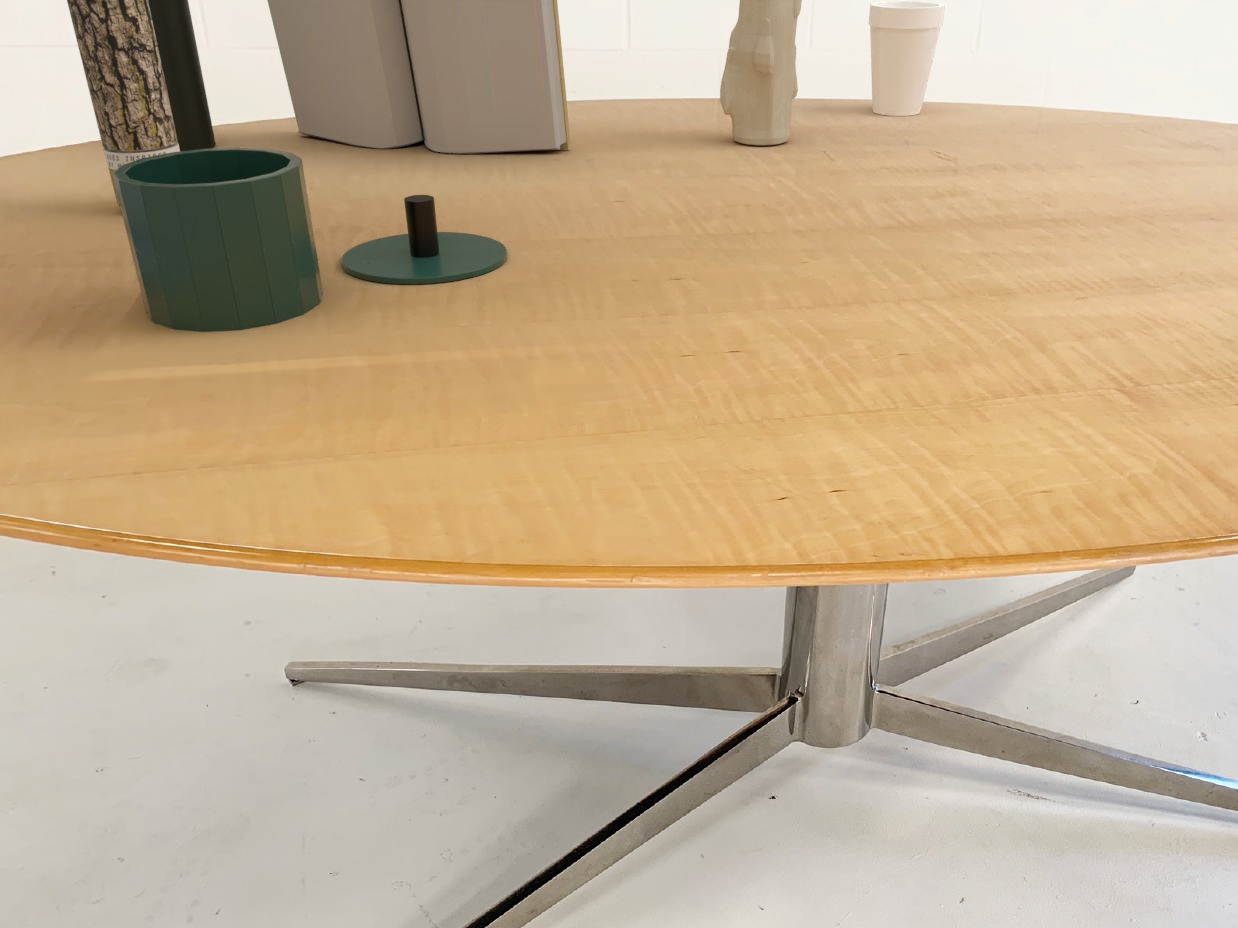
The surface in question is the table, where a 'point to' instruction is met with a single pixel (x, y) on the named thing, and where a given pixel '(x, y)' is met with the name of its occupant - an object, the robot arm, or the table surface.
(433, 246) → the lid
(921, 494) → the table surface
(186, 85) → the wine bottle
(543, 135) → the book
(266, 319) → the pot
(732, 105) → the vase
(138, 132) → the brown tall cylinder
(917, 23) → the foam cup
